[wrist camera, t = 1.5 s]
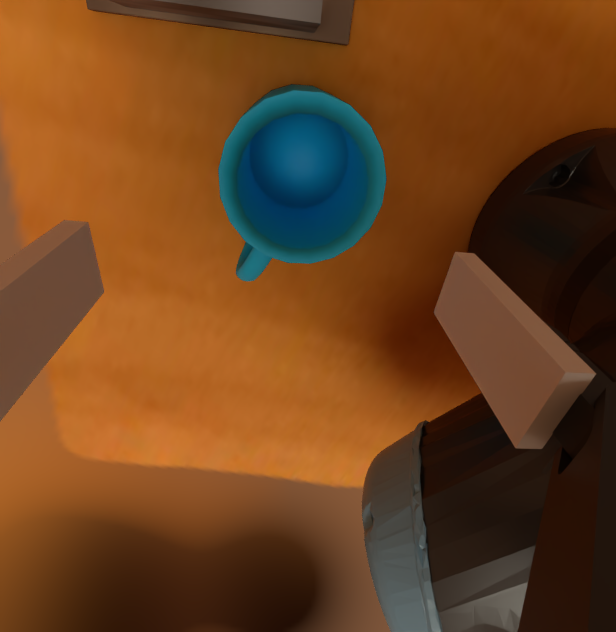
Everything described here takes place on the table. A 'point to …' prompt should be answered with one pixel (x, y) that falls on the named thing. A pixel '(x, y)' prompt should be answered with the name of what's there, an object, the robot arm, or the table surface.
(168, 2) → the holder
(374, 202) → the mug
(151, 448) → the table surface
